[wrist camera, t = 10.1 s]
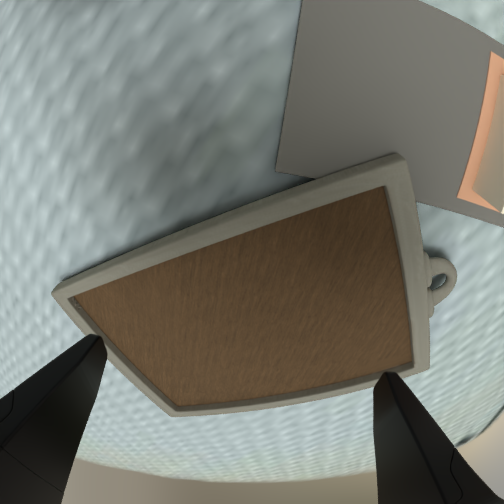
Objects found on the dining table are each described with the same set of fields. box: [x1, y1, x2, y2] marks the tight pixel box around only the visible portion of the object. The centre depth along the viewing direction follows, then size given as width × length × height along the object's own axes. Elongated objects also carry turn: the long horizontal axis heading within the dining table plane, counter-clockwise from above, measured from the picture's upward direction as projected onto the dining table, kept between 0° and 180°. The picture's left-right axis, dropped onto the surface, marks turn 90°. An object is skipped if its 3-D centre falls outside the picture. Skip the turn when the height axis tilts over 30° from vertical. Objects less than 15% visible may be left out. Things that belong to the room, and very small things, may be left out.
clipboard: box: [51, 153, 457, 417], centre depth 23 cm, size 19×2×30 cm
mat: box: [275, 0, 504, 228], centre depth 14 cm, size 12×20×1 cm, turn 83°
